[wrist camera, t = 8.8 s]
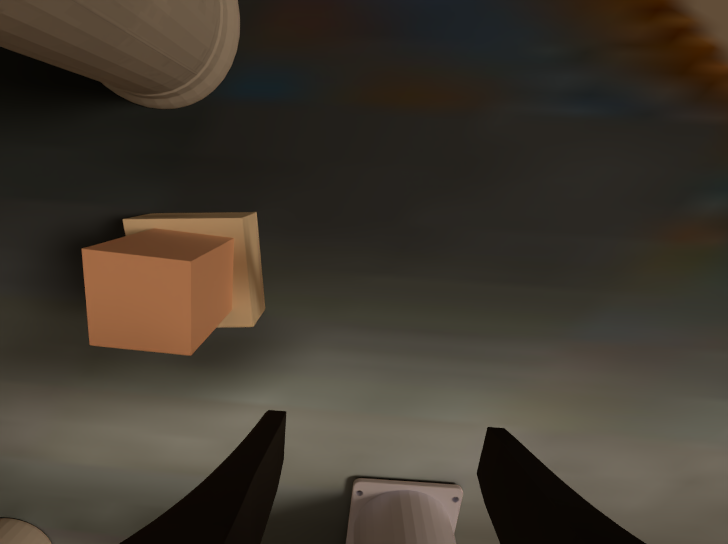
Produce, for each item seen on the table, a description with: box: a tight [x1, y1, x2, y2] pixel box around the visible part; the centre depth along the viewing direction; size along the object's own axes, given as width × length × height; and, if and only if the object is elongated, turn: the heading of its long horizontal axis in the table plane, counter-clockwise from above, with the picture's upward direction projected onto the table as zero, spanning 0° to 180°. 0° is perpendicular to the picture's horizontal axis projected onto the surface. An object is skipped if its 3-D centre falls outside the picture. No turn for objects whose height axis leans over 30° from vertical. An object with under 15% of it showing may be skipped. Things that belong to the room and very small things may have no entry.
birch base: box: [123, 212, 265, 327], centre depth 20 cm, size 6×6×3 cm
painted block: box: [82, 228, 234, 356], centre depth 16 cm, size 4×4×5 cm
